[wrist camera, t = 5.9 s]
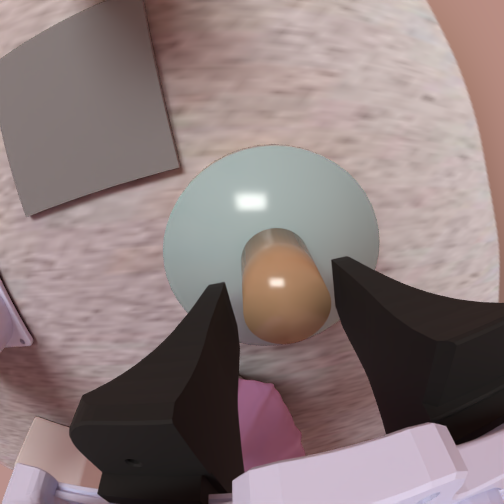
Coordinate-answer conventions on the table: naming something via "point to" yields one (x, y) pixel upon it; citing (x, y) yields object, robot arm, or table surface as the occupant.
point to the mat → (84, 107)
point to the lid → (269, 239)
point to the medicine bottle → (57, 454)
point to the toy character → (265, 425)
